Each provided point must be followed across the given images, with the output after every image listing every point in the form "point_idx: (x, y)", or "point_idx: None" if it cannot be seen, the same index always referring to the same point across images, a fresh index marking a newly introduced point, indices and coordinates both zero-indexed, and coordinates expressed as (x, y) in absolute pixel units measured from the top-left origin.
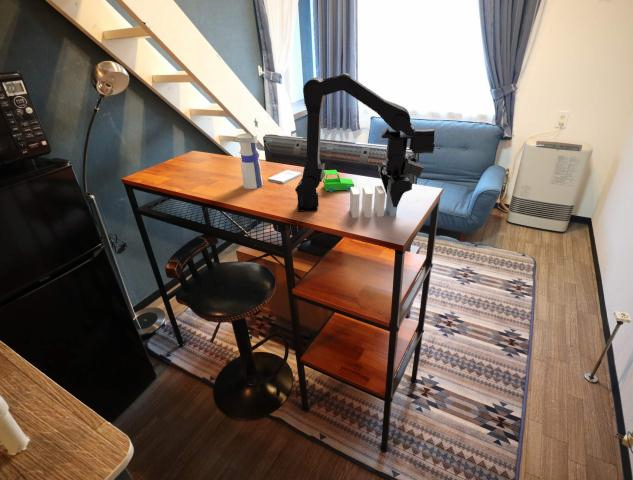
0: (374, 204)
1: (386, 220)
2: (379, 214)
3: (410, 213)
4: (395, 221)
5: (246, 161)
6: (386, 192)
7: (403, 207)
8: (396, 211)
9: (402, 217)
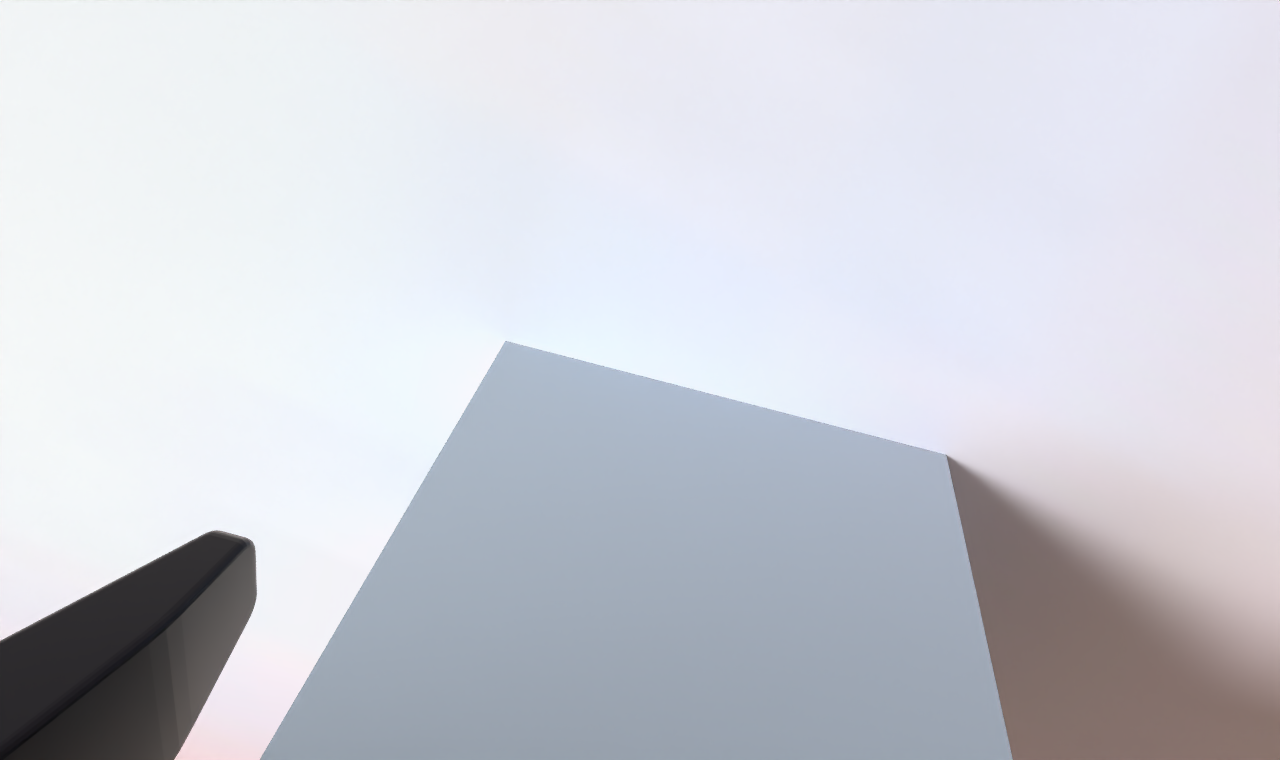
0: None
1: (1032, 693)
2: None
3: (1015, 49)
4: (1181, 592)
5: None
6: (199, 707)
7: (557, 37)
8: (963, 538)
9: (1104, 377)
